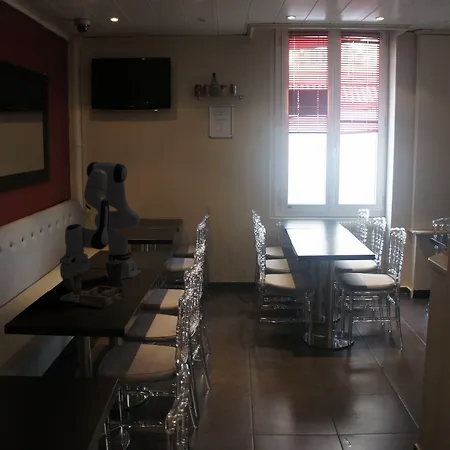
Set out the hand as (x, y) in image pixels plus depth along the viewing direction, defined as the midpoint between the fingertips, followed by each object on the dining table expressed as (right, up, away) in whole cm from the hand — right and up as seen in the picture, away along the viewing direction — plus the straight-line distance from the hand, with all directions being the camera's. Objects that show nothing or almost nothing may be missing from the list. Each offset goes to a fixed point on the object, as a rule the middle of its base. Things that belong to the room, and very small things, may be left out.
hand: (76, 283), depth 283 cm
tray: (0, -8, +1) cm, 8 cm away
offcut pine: (+17, -9, -6) cm, 20 cm away
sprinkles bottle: (0, -6, +1) cm, 6 cm away
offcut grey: (+15, -10, -10) cm, 21 cm away
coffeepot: (+16, -5, +18) cm, 25 cm away
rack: (+14, -9, -4) cm, 17 cm away
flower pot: (-6, -6, +16) cm, 18 cm away
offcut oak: (+19, -8, -1) cm, 21 cm away
